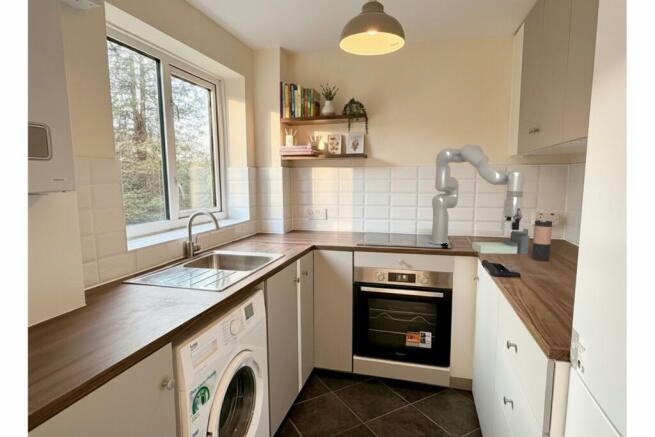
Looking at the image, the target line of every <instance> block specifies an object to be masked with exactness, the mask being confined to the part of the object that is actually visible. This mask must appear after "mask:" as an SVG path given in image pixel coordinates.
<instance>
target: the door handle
mask: <svg viewBox="0 0 655 437" xmlns="http://www.w3.org/2000/svg"><path fill="white" fill-rule="evenodd" d="M481 265H482V266H483V269H484V270H485V271H486V272H487V273H488V274H491V275H492V276H493V277H503V278H511V277H520V278H521V276H522V274H521V273H520V272H519V271H509V270H521V269H522V268H521V267H520V266H519V267H518V266H508V265H503V264H502V263H496V262H490V261H489V260H487V259H483V260H482V261H481ZM501 270H502V271H501ZM521 271H522V270H521Z"/></svg>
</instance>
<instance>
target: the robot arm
mask: <svg viewBox="0 0 655 437" xmlns="http://www.w3.org/2000/svg"><path fill="white" fill-rule="evenodd" d="M489 160H490V158H489V157H488V156H487V155H486V154H485V153H484V150H483V148H482V147H481V146H480V145H478V144H477V145H476V144H465V145H463V146H462V147H461V148H460V149H459V148H452V147H451V148H449V147H447V148H444V149H441V150H440V151H439V152H438V153H437V155H436V158H435V179H434V180H435V185H434V186H435V187H434V188H435V190H436V191H437V192H439V193H438V194H436V195H434V196H433V197H432V200H431V207H432V232H431V233H432V234H431V239H429V242H428V243H430V244H433V245H440V244H443V243H447V244H446V245H450V244H451V241H450V240H448V237H449V218H450V217H449V211H448V209H453V208H455V207H456V206H457V205H458V201H459V189H460V188H459V185H460V184H459V181H458V180H457V178H456V177H454V176H451V168H450V163H452V164H454V163H455V164H462V163H469V164H470V165H471V166H472V167H474V168H475V169H476V171H477V173H478V175H479V176H480V177H481V178H482V179H483V180H485V181H486V182H487V183H488V184H491V185H493V186H495V185H496V186H499V185H500V186H506V196H505V200H504V207H503V216H504V217H505V218H504V220H513V221H514V222H513V225H512V230H519V223H520V221H522V220H521V219H522V218H523V198H524V197H523V196H524V185H525V183H524V182H525V172H524V171H523V170H509V171H508V170H497V169H495V168H494V167H492V166H491V165H490V164H489ZM440 192H442V193H440Z"/></svg>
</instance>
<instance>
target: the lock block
mask: <svg viewBox="0 0 655 437" xmlns="http://www.w3.org/2000/svg"><path fill="white" fill-rule="evenodd" d="M513 222H514V221H513V219H511V220H505V219H501V222H500V230H502V231H504V232H505V231H506V232H512V231H523V229H524V228H525V227H524V224H525V221H523V220H520V223H519V230H512V225H513Z"/></svg>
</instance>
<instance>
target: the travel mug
mask: <svg viewBox="0 0 655 437" xmlns="http://www.w3.org/2000/svg"><path fill="white" fill-rule="evenodd" d="M552 232H553V221H551V220H545V221H542V220H540V219H537V220H535V221H534V230H533V239H532V260H535V261H538V260H539V261H540V262H548V261H549V260H550V252H551V251H550V250H551V244H552Z"/></svg>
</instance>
